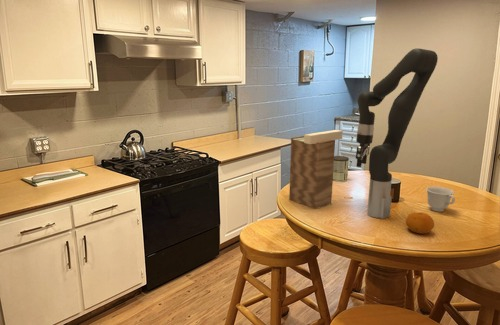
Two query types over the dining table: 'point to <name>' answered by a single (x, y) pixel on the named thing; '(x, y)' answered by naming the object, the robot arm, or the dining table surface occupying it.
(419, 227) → the fruit
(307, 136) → the block
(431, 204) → the teacup
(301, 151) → the brown patterned box
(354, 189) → the dining table surface
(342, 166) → the coffee can
